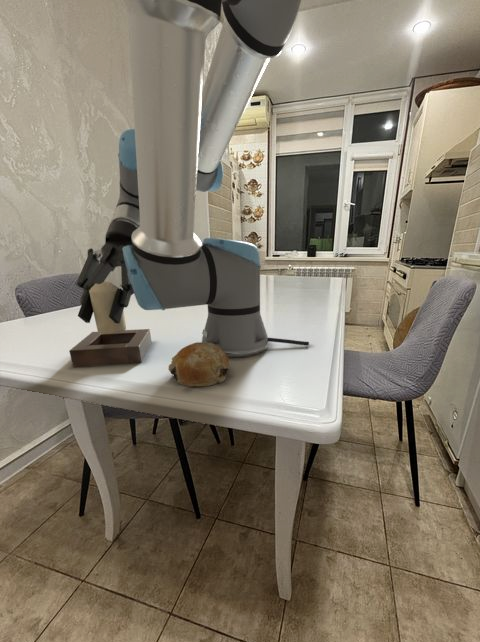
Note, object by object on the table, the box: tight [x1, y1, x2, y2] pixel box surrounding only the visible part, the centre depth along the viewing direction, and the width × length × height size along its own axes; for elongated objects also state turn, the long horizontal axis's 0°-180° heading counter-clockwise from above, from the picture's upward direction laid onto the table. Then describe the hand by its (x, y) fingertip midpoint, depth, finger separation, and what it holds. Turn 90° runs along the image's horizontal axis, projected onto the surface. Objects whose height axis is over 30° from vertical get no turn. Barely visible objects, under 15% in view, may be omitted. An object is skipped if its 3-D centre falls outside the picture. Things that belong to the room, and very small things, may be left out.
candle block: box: [68, 328, 153, 368], centre depth 63 cm, size 13×13×4 cm
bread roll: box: [168, 341, 230, 388], centre depth 52 cm, size 10×10×8 cm
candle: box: [89, 280, 127, 334], centre depth 60 cm, size 6×6×10 cm
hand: (98, 319), depth 57 cm, fingers closed on candle, 5 cm apart
